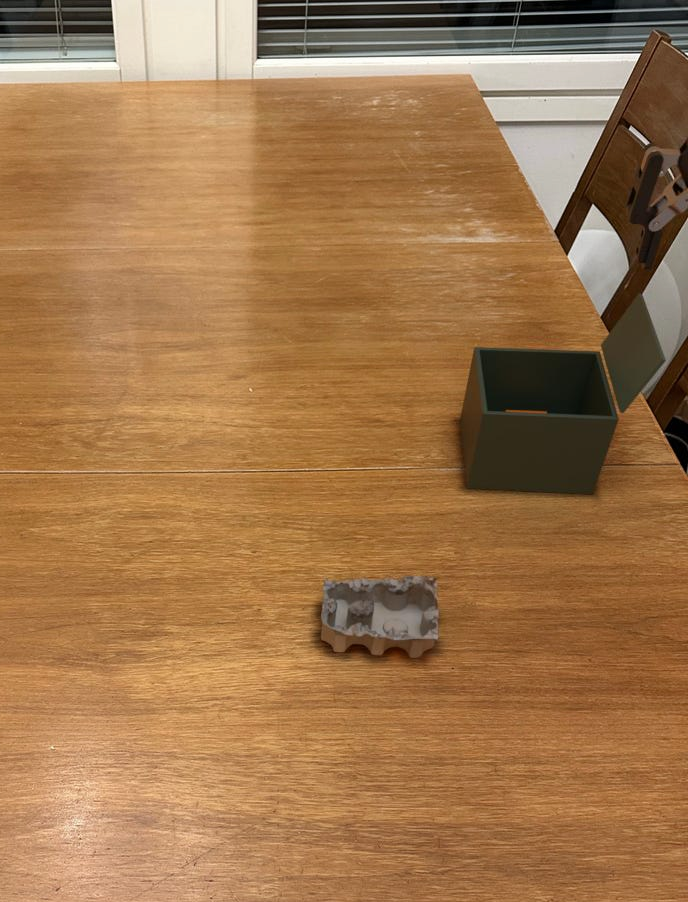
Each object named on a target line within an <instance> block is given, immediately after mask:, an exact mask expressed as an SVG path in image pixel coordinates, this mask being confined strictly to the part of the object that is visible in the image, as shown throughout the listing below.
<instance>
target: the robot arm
mask: <svg viewBox="0 0 688 902" xmlns="http://www.w3.org/2000/svg"><path fill="white" fill-rule="evenodd" d="M673 166H676V167H677V169H678V172H679V174H678V175H677V176H676V177H675V178H674V179H673V180H672V181H671V182H670V183H668V184H667V185H666V187H665V188H664V189H663V192H662V193H661V194H660V195H659V196H658V197H657V198H655V200H654V201H653V202H652V203H651V204H650V202H651V199H652V196H653V194H654V190H655V187H656V184H657V181H658V180H659V179H660V178H663V177H664V176H665V175H666V174H667V172H668V170H669V169H670V168H672V167H673ZM629 189H630V190H629V192H628V195H627V198H626V200H625V204H624V209H625V212H626V215H627V218H628V221H629V223H630V224H632V225H640V226H641V228H640V231H639V236H638V238H637V242H636V245H635V249H634V252H635V253H634V254H635V257H636V261H637V263H638V264H640V267H641V270H643V271H649V270H652V269H653V266H654V264H655V260H656V256H657V253H658V250H659V246H660V243H661V240H662V236H663V233H664V232H663V229H662V228H663V227H665V226H666V225H667V224H668V223H669V222H670V221H671V220H672V219H673V218H675V217H676V216H678V215H681V214H683V213H685V212H686V211H687V210H688V136H687V137H686V139H685V140H684V142H683V143H682V144H681V146H680V147H679V148H661V147H659V145H658V144H657V143H656V142H649V143H647V144H646V145H645V146H644V147H643V150H642V153H641V156H640V159H639V162H638V165H637V167H636V170H635V174H634V177H633V180H632V183H631V186H630V188H629Z"/></svg>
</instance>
